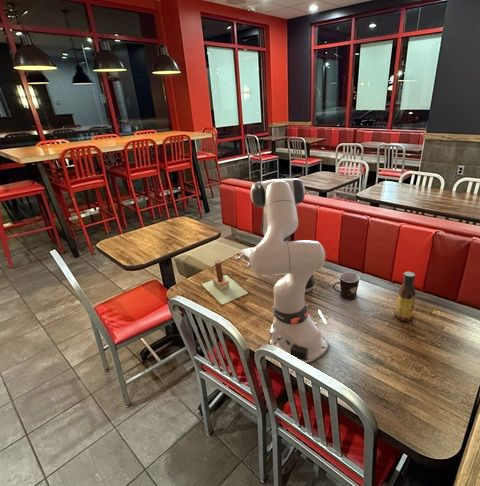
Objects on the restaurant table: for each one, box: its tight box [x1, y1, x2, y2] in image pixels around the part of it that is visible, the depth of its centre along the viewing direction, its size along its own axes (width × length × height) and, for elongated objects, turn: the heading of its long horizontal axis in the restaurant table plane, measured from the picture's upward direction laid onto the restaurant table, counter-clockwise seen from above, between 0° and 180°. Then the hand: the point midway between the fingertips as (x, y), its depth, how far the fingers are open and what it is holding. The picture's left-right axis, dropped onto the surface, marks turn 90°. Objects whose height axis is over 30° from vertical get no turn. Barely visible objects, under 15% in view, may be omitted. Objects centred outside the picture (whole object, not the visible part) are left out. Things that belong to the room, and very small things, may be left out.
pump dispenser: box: [305, 274, 315, 294], centre depth 144 cm, size 10×10×15 cm
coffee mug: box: [332, 271, 361, 301], centre depth 139 cm, size 12×9×10 cm
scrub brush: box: [212, 260, 229, 291], centre depth 149 cm, size 7×5×13 cm
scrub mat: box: [201, 274, 249, 305], centre depth 150 cm, size 22×14×1 cm, turn 36°
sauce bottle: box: [395, 271, 417, 322], centre depth 122 cm, size 6×6×20 cm
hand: (241, 263), depth 155 cm, fingers open, 8 cm apart
